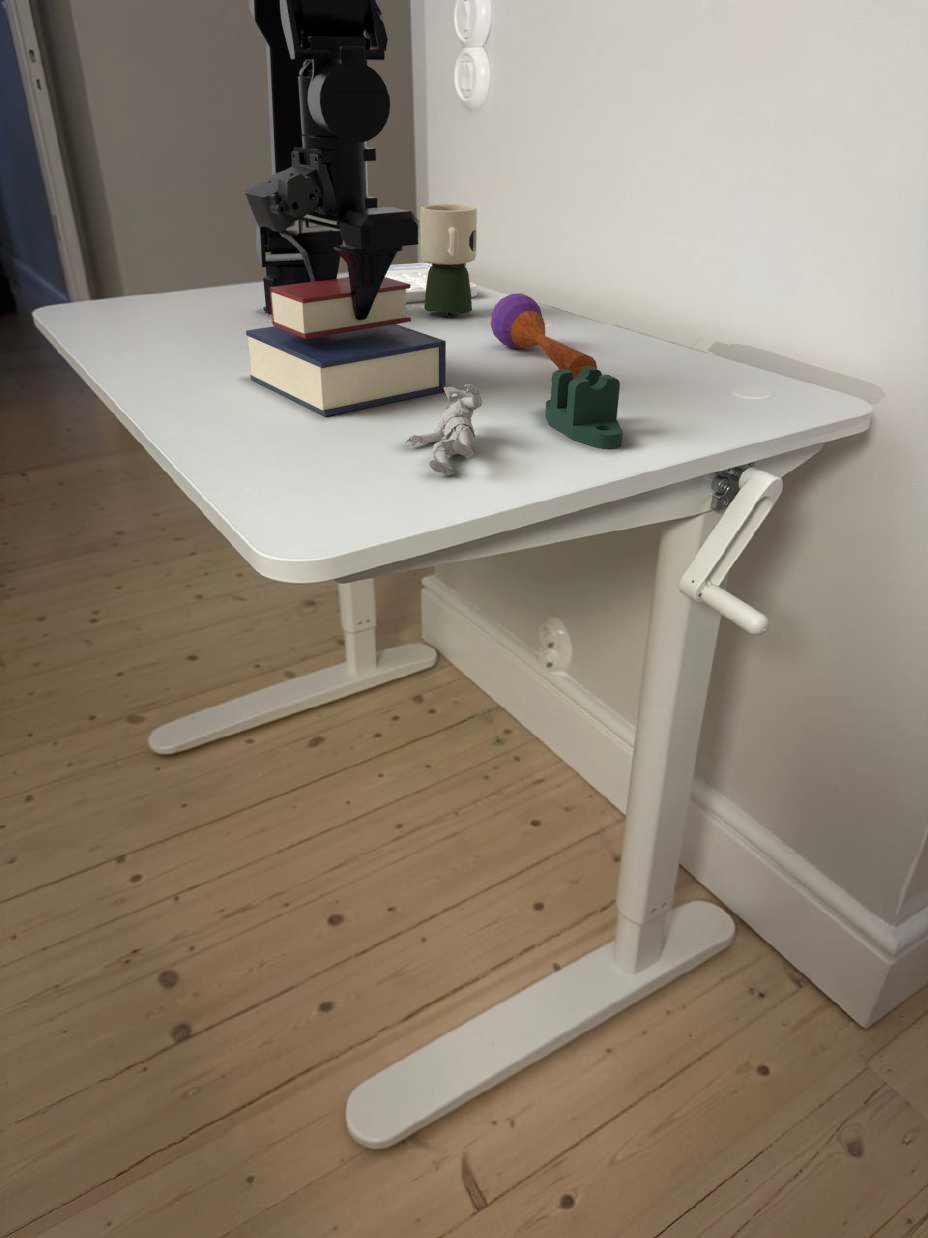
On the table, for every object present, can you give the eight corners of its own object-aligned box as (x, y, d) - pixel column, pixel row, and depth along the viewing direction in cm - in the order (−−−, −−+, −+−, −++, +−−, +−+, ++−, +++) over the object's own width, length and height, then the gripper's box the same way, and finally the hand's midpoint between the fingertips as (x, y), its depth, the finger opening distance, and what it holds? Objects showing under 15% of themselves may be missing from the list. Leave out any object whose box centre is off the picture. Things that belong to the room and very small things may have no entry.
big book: (364, 358, 106) (363, 312, 103) (445, 390, 96) (446, 340, 93) (250, 379, 98) (245, 330, 96) (325, 416, 88) (321, 362, 86)
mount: (531, 414, 90) (534, 360, 87) (573, 408, 91) (576, 356, 89) (591, 451, 81) (596, 393, 79) (636, 444, 83) (642, 387, 80)
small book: (375, 309, 99) (374, 273, 98) (411, 321, 95) (410, 283, 93) (272, 325, 93) (269, 287, 91) (305, 338, 89) (302, 298, 87)
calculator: (391, 304, 130) (390, 290, 129) (347, 278, 146) (347, 265, 145) (480, 297, 135) (480, 283, 134) (428, 272, 151) (428, 260, 150)
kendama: (553, 350, 94) (480, 294, 110) (558, 406, 98) (486, 344, 113) (607, 335, 95) (527, 281, 111) (610, 390, 99) (532, 331, 114)
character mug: (481, 322, 122) (483, 212, 115) (425, 324, 121) (425, 213, 114) (468, 304, 131) (470, 201, 124) (417, 305, 130) (415, 202, 123)
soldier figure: (402, 486, 76) (396, 398, 84) (444, 517, 79) (435, 428, 87) (472, 428, 73) (459, 341, 81) (514, 462, 75) (498, 374, 83)
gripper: (205, 131, 88) (225, 305, 96) (307, 145, 75) (320, 344, 83) (311, 128, 94) (321, 292, 102) (422, 140, 81) (423, 327, 89)
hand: (342, 312), depth 94 cm, fingers closed on small book, 6 cm apart
